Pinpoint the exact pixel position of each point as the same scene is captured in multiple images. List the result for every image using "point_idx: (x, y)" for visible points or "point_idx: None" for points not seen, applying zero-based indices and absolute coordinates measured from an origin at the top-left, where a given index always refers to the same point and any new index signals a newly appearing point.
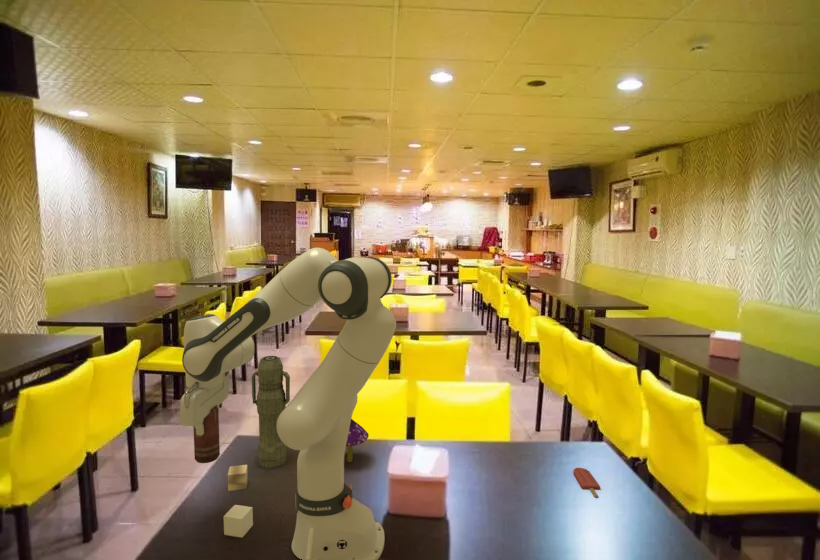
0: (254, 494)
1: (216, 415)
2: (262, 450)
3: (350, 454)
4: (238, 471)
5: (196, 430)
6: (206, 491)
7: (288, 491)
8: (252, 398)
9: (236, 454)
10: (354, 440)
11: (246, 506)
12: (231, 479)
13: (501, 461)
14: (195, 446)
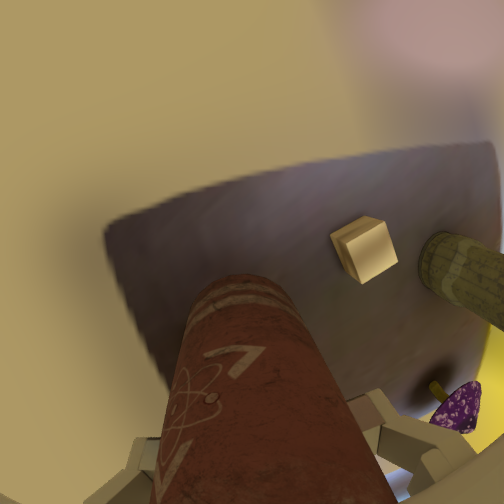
0: (327, 301)
1: None
2: (446, 267)
3: (435, 396)
4: (366, 261)
5: (130, 459)
6: (316, 182)
7: (346, 354)
8: None
9: (451, 162)
10: None
11: None
12: (344, 249)
13: (404, 482)
14: (181, 344)
